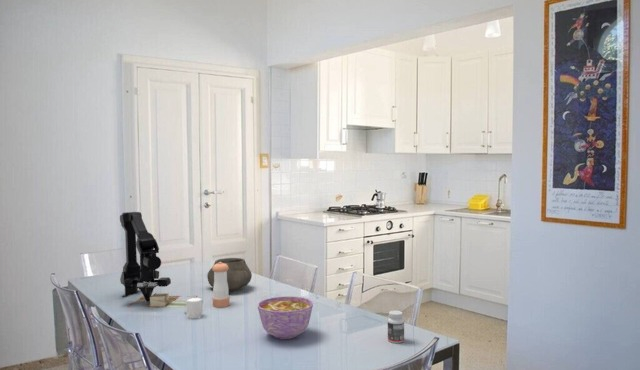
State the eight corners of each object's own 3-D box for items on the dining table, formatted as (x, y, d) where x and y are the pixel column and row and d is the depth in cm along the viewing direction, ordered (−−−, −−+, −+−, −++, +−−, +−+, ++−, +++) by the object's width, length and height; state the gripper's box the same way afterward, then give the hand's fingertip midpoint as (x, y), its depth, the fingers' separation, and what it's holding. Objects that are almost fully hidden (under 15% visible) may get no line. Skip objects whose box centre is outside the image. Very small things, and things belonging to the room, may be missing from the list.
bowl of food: (284, 322, 199) (284, 293, 198) (324, 333, 186) (324, 301, 186) (246, 337, 183) (245, 305, 183) (287, 349, 171) (286, 315, 170)
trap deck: (143, 299, 237) (143, 295, 236) (198, 299, 235) (197, 295, 235) (126, 310, 219) (126, 307, 218) (185, 310, 217) (185, 307, 217)
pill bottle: (386, 338, 180) (385, 310, 180) (402, 337, 181) (401, 309, 180) (389, 343, 175) (389, 315, 174) (406, 343, 175) (405, 314, 175)
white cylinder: (198, 319, 205) (198, 302, 205) (182, 318, 206) (182, 301, 206) (206, 314, 212) (205, 297, 211) (190, 313, 213) (190, 296, 213)
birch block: (155, 302, 225) (155, 293, 225) (168, 302, 225) (168, 293, 225) (150, 306, 219) (150, 297, 219) (164, 306, 219) (163, 296, 219)
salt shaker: (225, 308, 220) (224, 263, 219) (210, 307, 222) (208, 263, 221) (232, 303, 227) (231, 260, 226) (216, 302, 229) (215, 260, 228)
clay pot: (200, 289, 253) (199, 259, 252) (238, 282, 266) (238, 254, 265) (220, 298, 235) (219, 266, 235) (260, 291, 248) (259, 260, 248)
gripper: (174, 262, 229) (175, 296, 230) (133, 262, 230) (134, 296, 231) (165, 267, 218) (166, 303, 219) (122, 267, 219) (124, 303, 220)
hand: (148, 301), depth 222 cm, fingers closed
